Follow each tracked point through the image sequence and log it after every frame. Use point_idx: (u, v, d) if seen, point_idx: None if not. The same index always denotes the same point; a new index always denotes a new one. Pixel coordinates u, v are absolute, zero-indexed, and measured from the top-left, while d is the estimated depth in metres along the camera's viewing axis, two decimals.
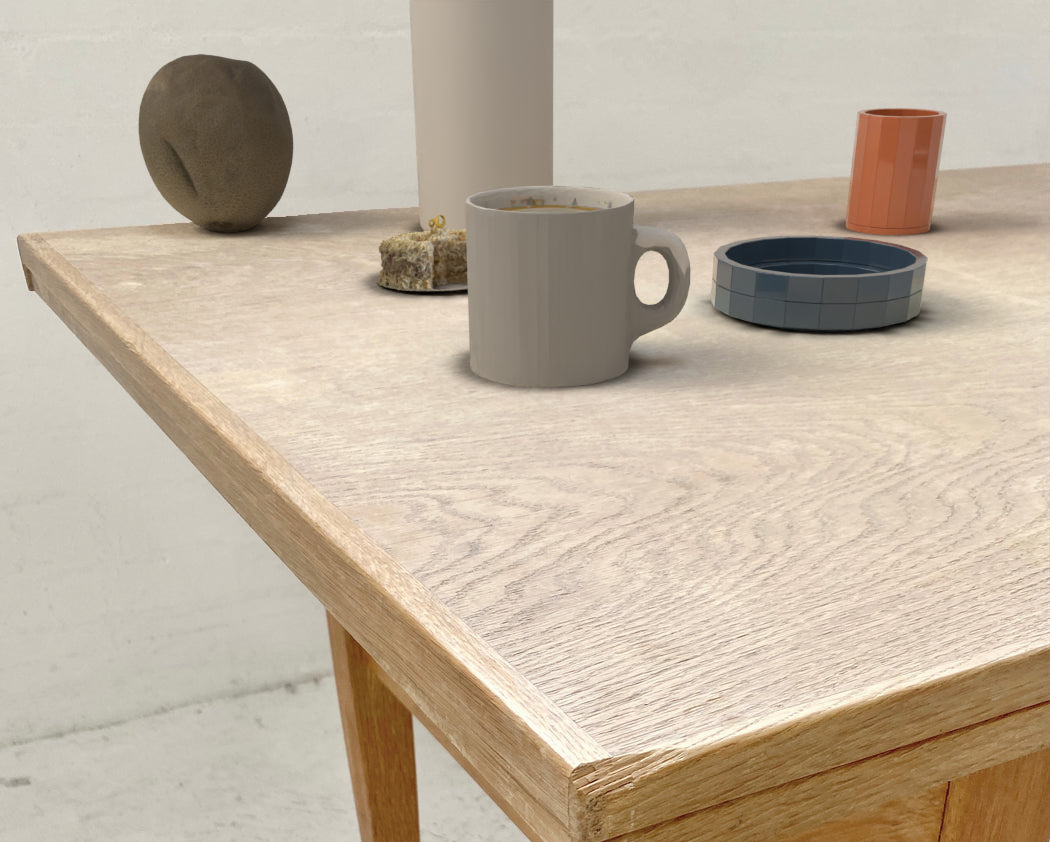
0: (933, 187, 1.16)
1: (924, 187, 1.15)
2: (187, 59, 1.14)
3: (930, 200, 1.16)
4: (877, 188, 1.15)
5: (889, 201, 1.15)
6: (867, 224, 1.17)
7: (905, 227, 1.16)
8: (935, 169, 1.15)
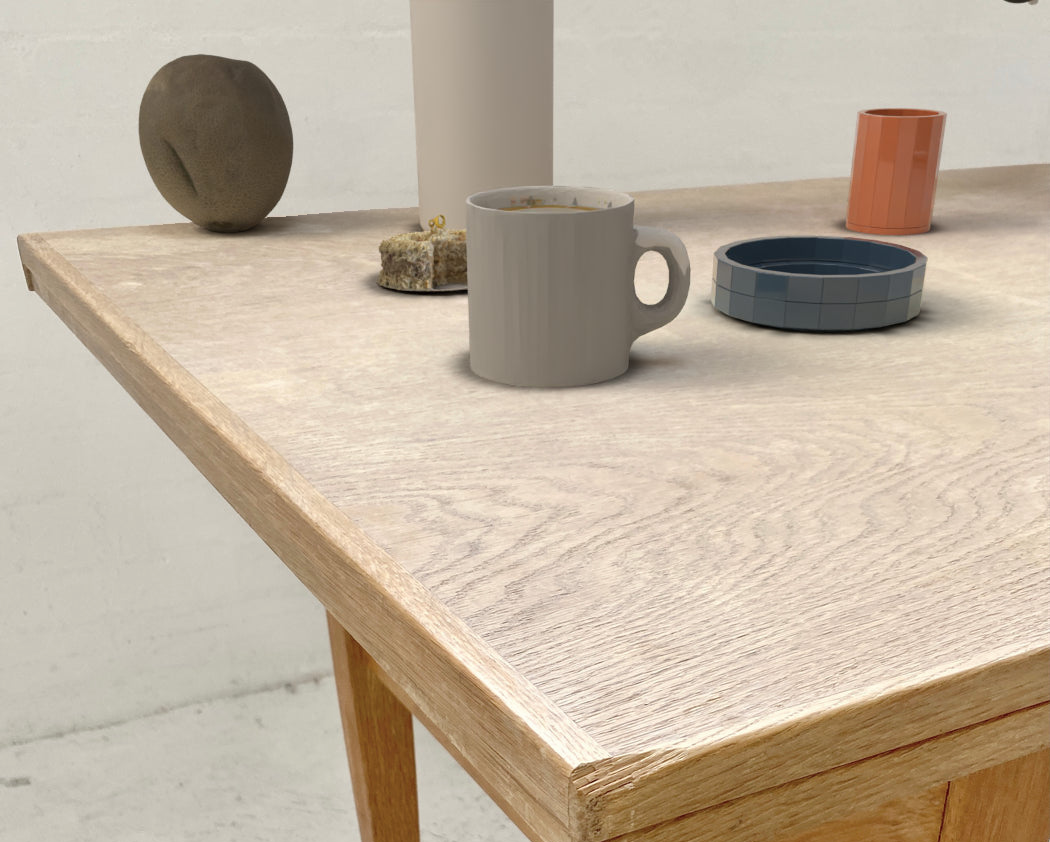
0: (933, 187, 1.16)
1: (924, 187, 1.15)
2: (187, 59, 1.14)
3: (930, 200, 1.16)
4: (877, 188, 1.15)
5: (889, 201, 1.15)
6: (867, 224, 1.17)
7: (905, 227, 1.16)
8: (935, 169, 1.15)
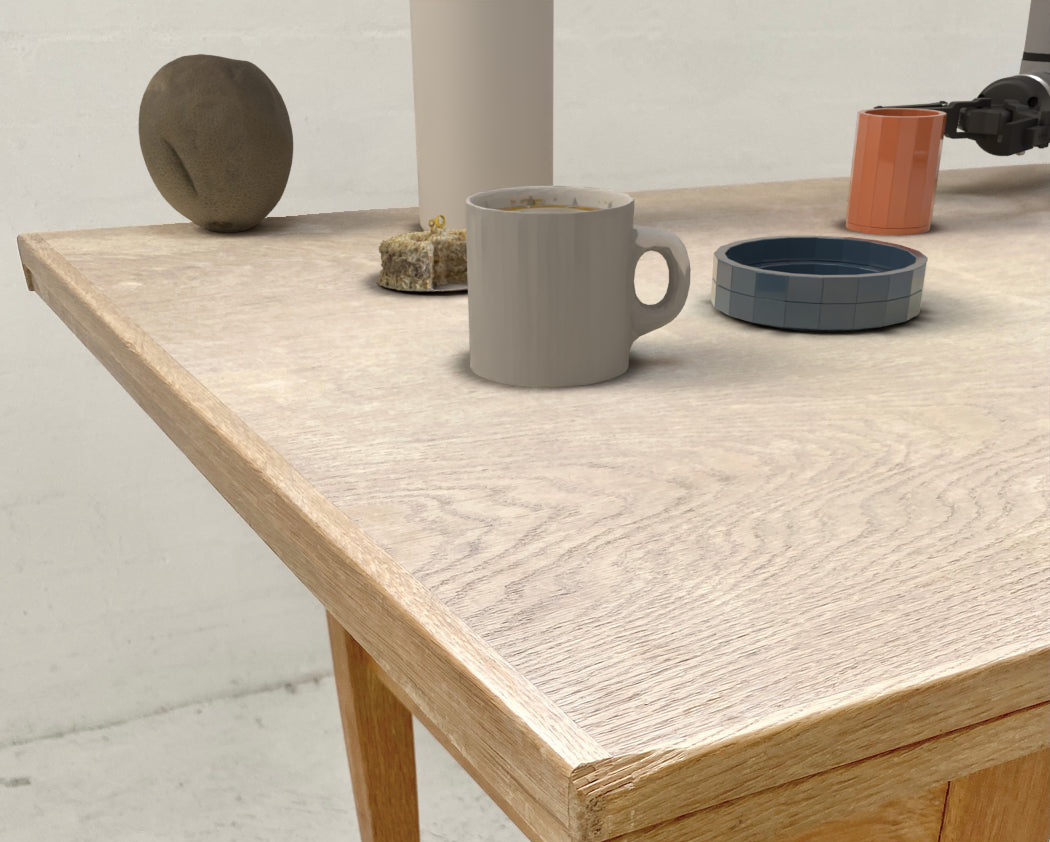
0: (933, 187, 1.16)
1: (924, 187, 1.15)
2: (187, 59, 1.14)
3: (930, 200, 1.16)
4: (877, 188, 1.15)
5: (889, 201, 1.15)
6: (867, 224, 1.17)
7: (905, 227, 1.16)
8: (935, 169, 1.15)
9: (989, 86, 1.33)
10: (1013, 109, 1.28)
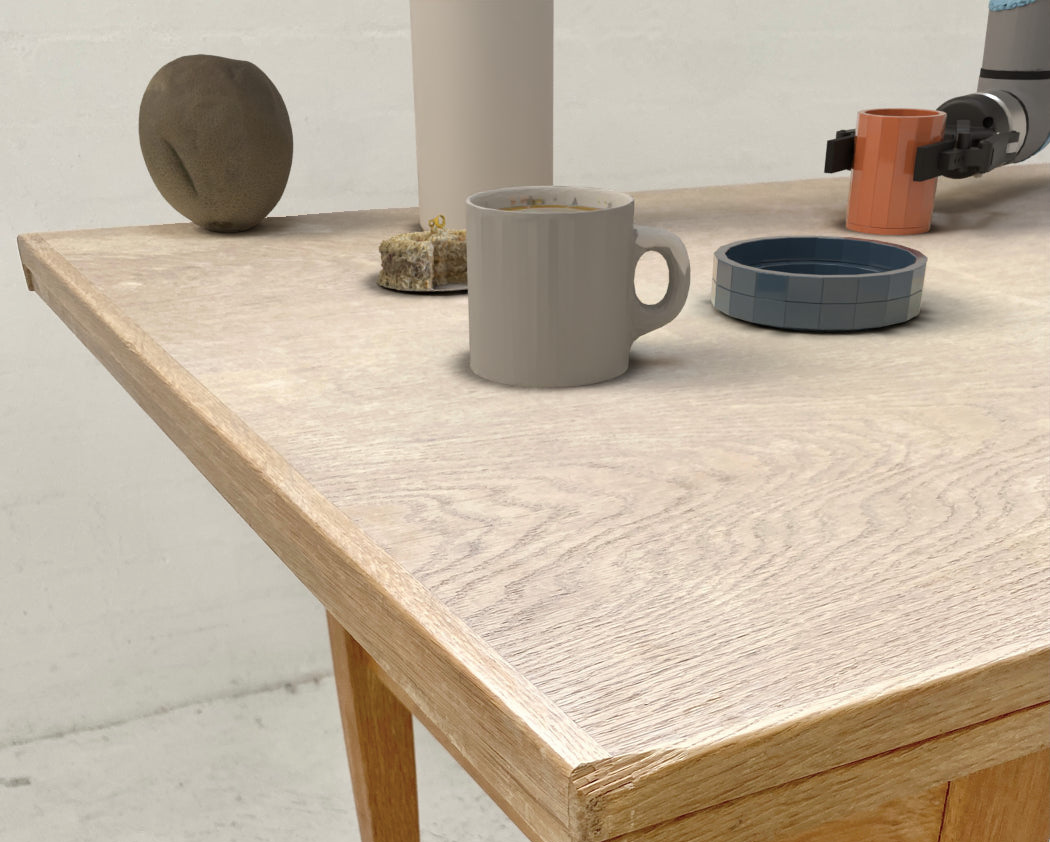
0: (933, 187, 1.16)
1: (924, 187, 1.15)
2: (187, 59, 1.14)
3: (930, 200, 1.16)
4: (877, 188, 1.15)
5: (889, 201, 1.15)
6: (867, 224, 1.17)
7: (905, 227, 1.16)
8: None
9: (942, 105, 1.26)
10: (956, 130, 1.21)
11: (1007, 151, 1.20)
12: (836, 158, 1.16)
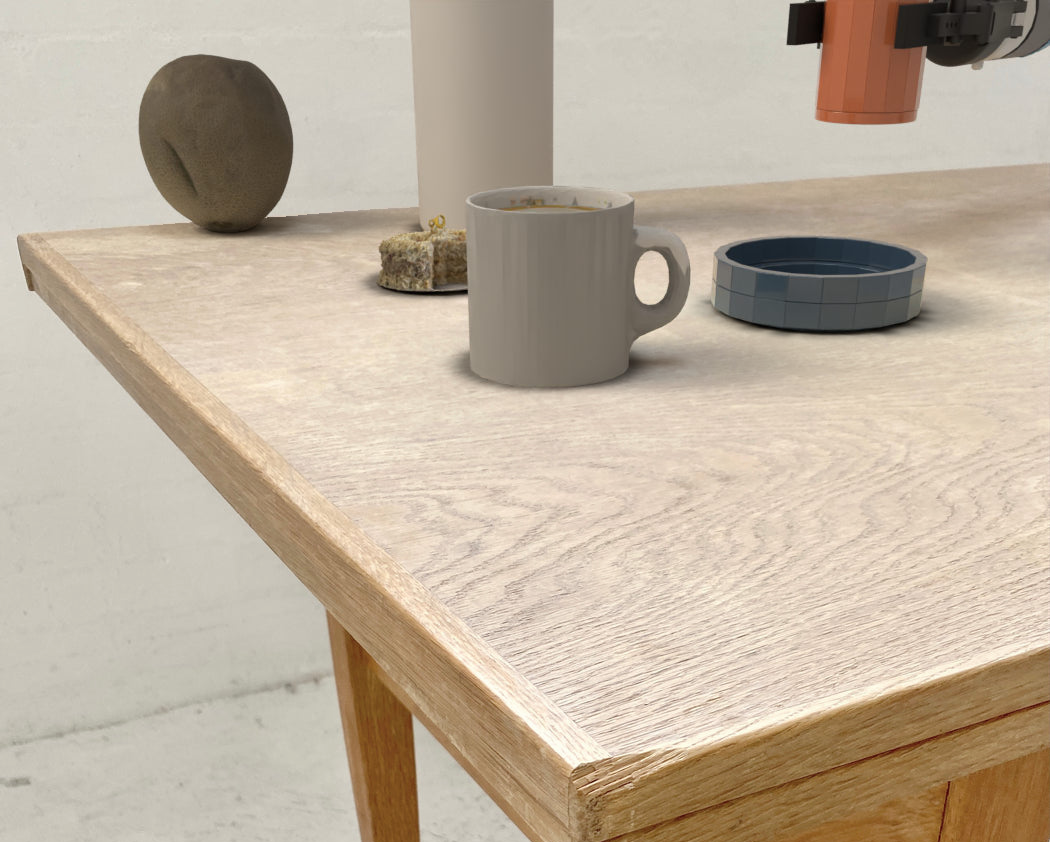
0: (920, 62, 0.94)
1: (909, 60, 0.93)
2: (187, 59, 1.14)
3: (917, 78, 0.94)
4: (851, 62, 0.93)
5: (866, 78, 0.93)
6: (839, 108, 0.95)
7: (886, 111, 0.95)
8: None
9: None
10: None
11: (1012, 23, 0.98)
12: (801, 26, 0.94)
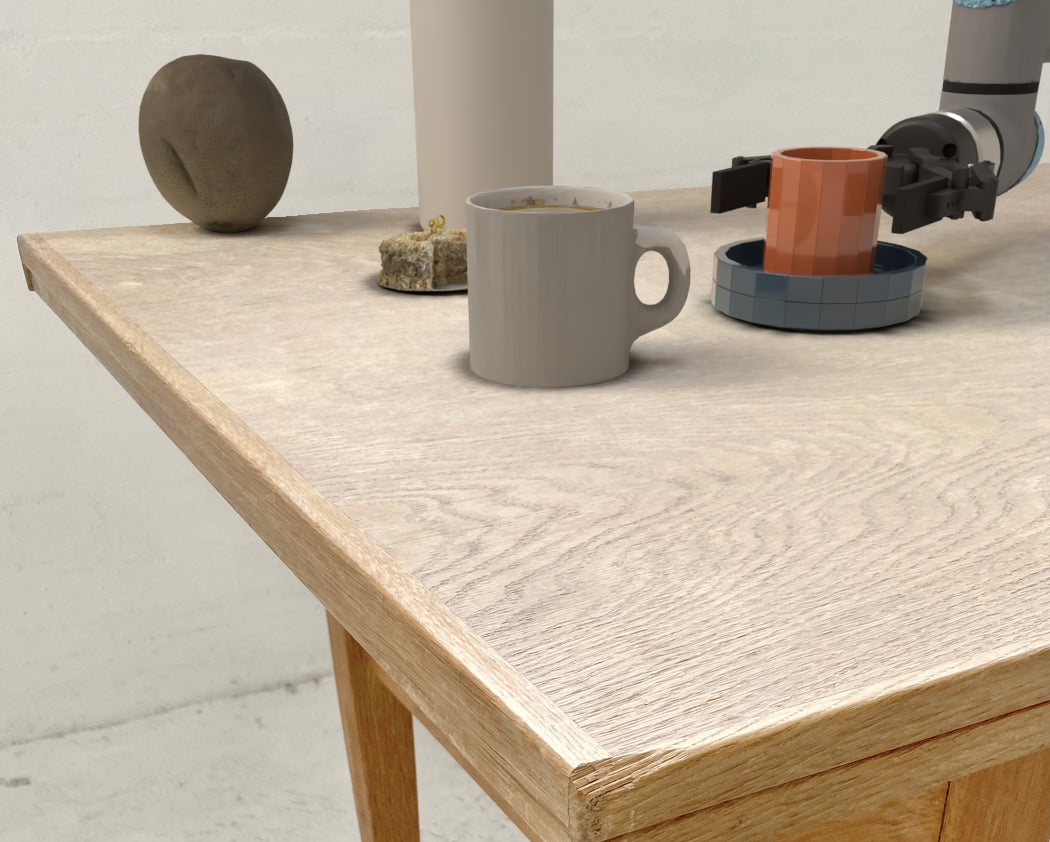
0: (871, 251, 0.88)
1: (858, 252, 0.87)
2: (187, 59, 1.14)
3: (867, 268, 0.89)
4: (797, 253, 0.87)
5: (813, 270, 0.88)
6: None
7: None
8: (873, 228, 0.87)
9: (891, 128, 0.98)
10: (919, 162, 0.92)
11: None
12: (725, 194, 0.90)
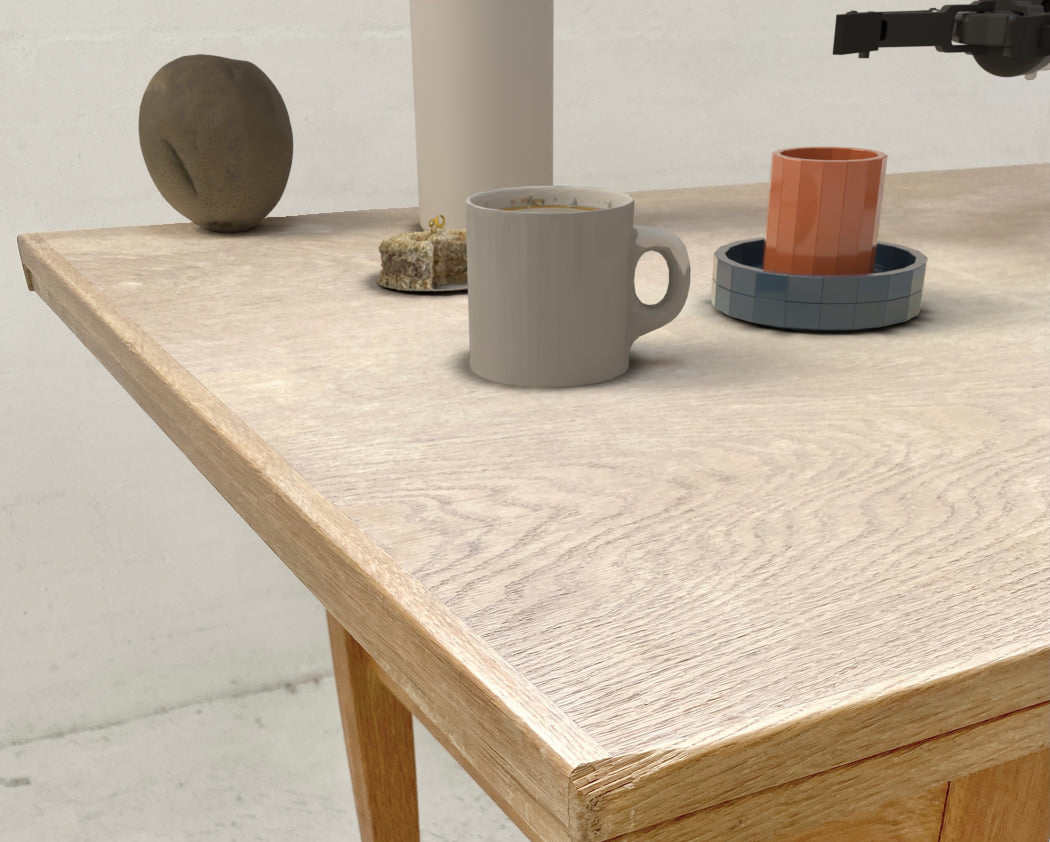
0: (871, 251, 0.88)
1: (858, 252, 0.87)
2: (187, 59, 1.14)
3: (867, 268, 0.89)
4: (797, 253, 0.87)
5: (813, 270, 0.88)
6: None
7: None
8: (873, 228, 0.87)
9: None
10: (1024, 10, 1.00)
11: None
12: (847, 36, 0.98)
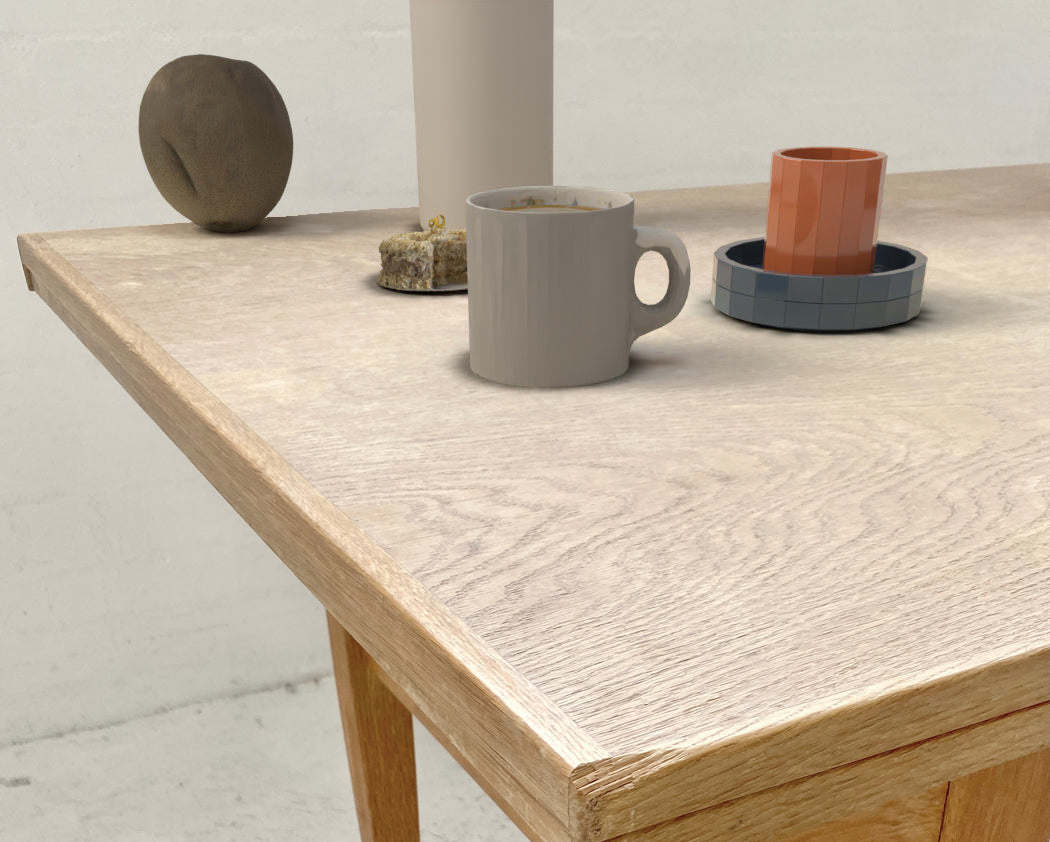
0: (871, 251, 0.88)
1: (858, 252, 0.87)
2: (187, 59, 1.14)
3: (867, 268, 0.89)
4: (797, 253, 0.87)
5: (813, 270, 0.88)
6: None
7: None
8: (873, 228, 0.87)
9: None
10: None
11: None
12: None
